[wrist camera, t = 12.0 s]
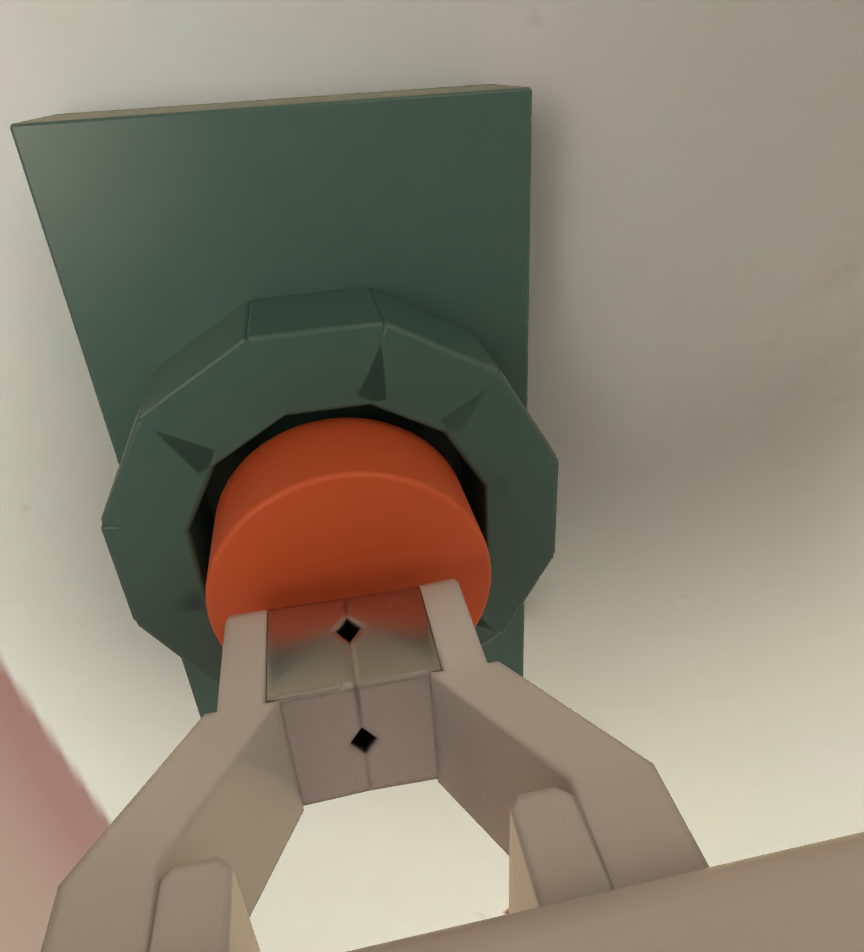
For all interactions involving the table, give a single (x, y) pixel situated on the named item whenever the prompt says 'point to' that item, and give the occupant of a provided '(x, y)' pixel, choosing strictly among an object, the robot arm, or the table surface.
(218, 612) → the release button
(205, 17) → the table surface
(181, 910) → the robot arm
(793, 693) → the table surface
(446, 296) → the button block
